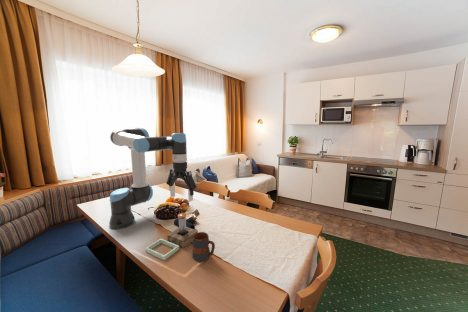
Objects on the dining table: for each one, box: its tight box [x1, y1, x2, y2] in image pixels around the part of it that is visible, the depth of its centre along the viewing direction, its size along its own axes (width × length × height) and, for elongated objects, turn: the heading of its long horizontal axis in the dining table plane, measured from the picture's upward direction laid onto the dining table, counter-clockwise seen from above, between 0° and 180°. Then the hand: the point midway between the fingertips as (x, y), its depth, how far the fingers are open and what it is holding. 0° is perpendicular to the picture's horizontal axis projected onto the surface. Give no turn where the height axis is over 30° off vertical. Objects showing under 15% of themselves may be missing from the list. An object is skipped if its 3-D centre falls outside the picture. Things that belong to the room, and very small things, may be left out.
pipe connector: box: [173, 215, 198, 230], centre depth 129 cm, size 12×5×15 cm
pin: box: [177, 212, 187, 236], centre depth 111 cm, size 5×5×15 cm
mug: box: [192, 231, 216, 263], centre depth 97 cm, size 9×12×12 cm
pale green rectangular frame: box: [144, 238, 180, 261], centre depth 102 cm, size 14×10×3 cm
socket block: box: [166, 227, 199, 248], centre depth 112 cm, size 12×12×5 cm
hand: (181, 198), depth 109 cm, fingers open, 13 cm apart
